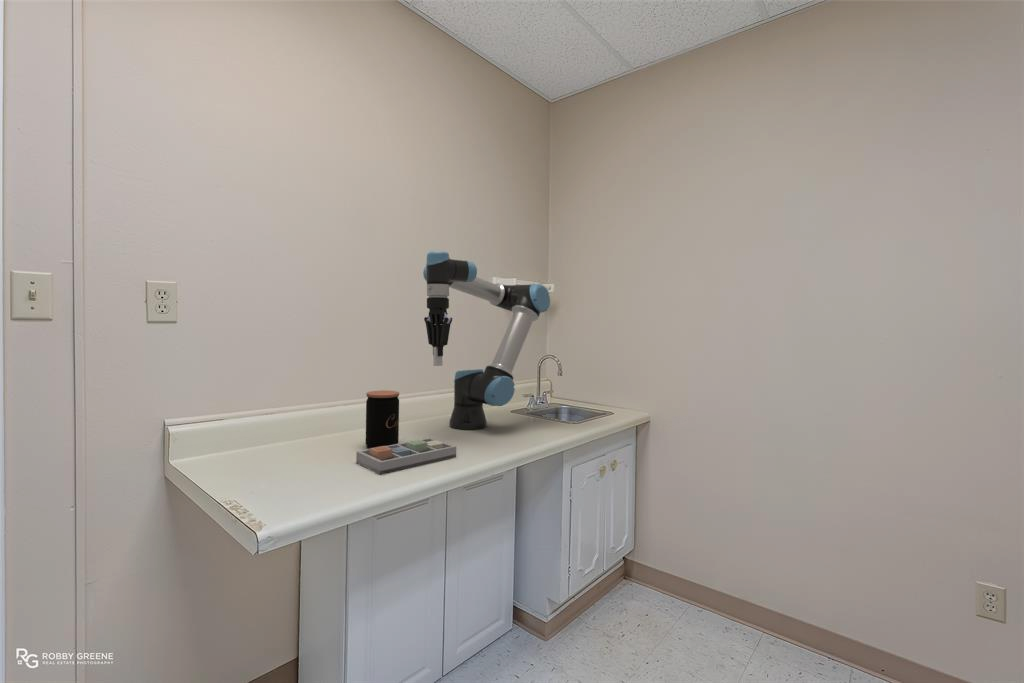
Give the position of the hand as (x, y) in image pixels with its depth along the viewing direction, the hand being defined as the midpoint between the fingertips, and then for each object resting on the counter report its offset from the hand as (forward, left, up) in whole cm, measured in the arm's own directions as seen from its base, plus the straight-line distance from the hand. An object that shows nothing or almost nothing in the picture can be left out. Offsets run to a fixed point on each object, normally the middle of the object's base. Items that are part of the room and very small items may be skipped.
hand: (438, 365), depth 158 cm
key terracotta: (+27, +11, -24) cm, 38 cm away
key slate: (+21, +11, -26) cm, 35 cm away
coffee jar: (+16, -8, -27) cm, 33 cm away
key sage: (+15, +11, -24) cm, 31 cm away
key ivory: (+9, +11, -26) cm, 29 cm away
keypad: (+18, +11, -27) cm, 34 cm away
